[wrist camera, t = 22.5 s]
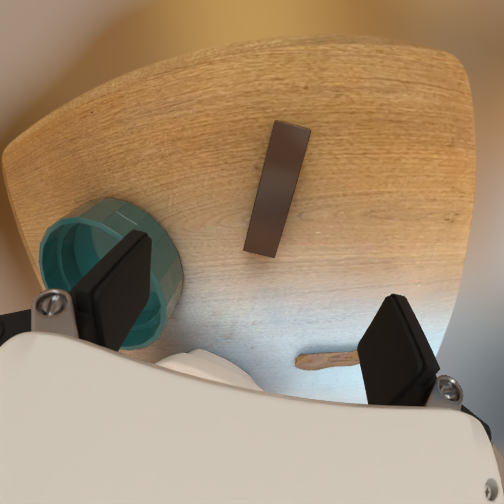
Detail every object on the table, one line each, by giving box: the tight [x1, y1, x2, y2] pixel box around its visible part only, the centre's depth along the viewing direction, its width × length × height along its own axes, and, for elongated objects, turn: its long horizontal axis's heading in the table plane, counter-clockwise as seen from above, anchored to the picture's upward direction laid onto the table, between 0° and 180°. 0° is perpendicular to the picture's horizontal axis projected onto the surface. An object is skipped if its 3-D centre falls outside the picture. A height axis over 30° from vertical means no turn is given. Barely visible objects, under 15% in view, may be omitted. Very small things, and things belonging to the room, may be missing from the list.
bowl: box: [154, 349, 265, 392], centre depth 37 cm, size 21×21×9 cm
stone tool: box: [295, 350, 360, 370], centre depth 36 cm, size 5×2×15 cm
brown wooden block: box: [243, 120, 311, 258], centre depth 25 cm, size 12×3×4 cm, turn 167°
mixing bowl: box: [39, 198, 183, 350], centre depth 30 cm, size 17×17×6 cm
